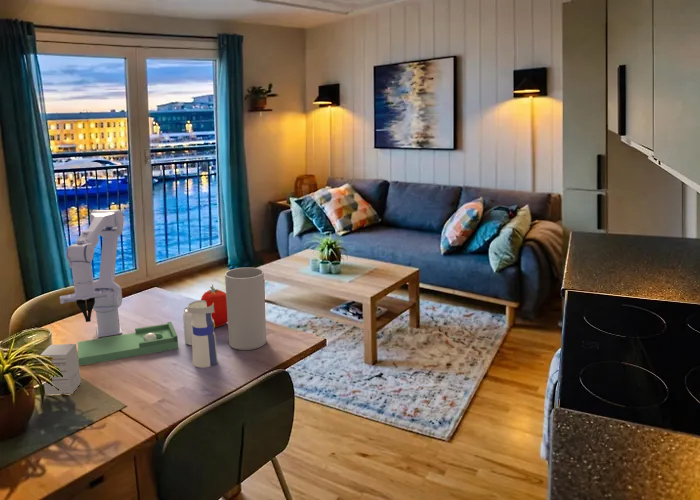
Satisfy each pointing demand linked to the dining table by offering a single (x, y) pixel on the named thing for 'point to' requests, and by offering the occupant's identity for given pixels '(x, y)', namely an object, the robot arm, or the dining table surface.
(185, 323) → the can
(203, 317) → the water bottle
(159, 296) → the dining table surface
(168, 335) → the green mini golf board
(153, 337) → the ball
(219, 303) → the tomato
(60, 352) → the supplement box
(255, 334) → the cylinder vase
